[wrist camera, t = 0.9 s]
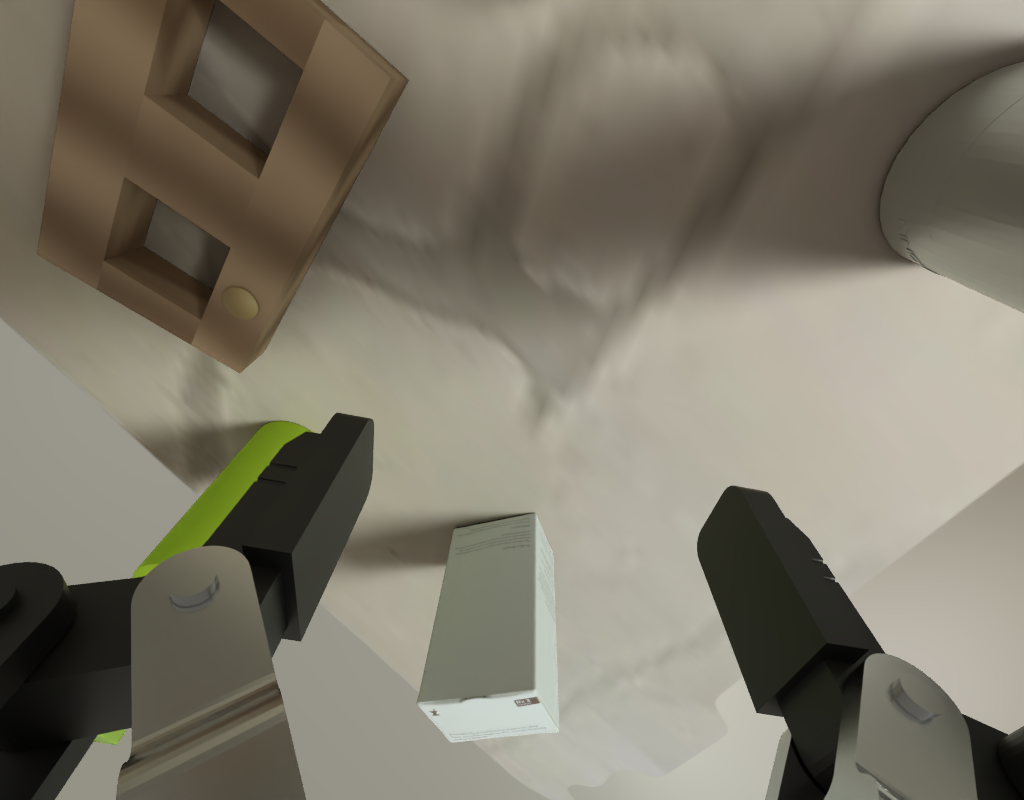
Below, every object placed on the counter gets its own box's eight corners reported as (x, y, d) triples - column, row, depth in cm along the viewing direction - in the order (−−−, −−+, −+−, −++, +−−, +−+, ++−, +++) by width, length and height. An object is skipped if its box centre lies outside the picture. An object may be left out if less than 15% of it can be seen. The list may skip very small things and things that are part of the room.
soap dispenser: (324, 417, 35) (118, 709, 18) (330, 480, 39) (165, 767, 22) (248, 404, 34) (-30, 687, 18) (261, 468, 38) (43, 749, 22)
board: (161, -143, 18) (96, -183, 16) (408, 79, 22) (389, 77, 19) (82, 240, 28) (33, 255, 25) (264, 351, 32) (238, 374, 29)
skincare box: (475, 564, 44) (446, 746, 31) (451, 523, 41) (408, 708, 28) (558, 551, 42) (561, 740, 29) (539, 508, 39) (534, 699, 26)
